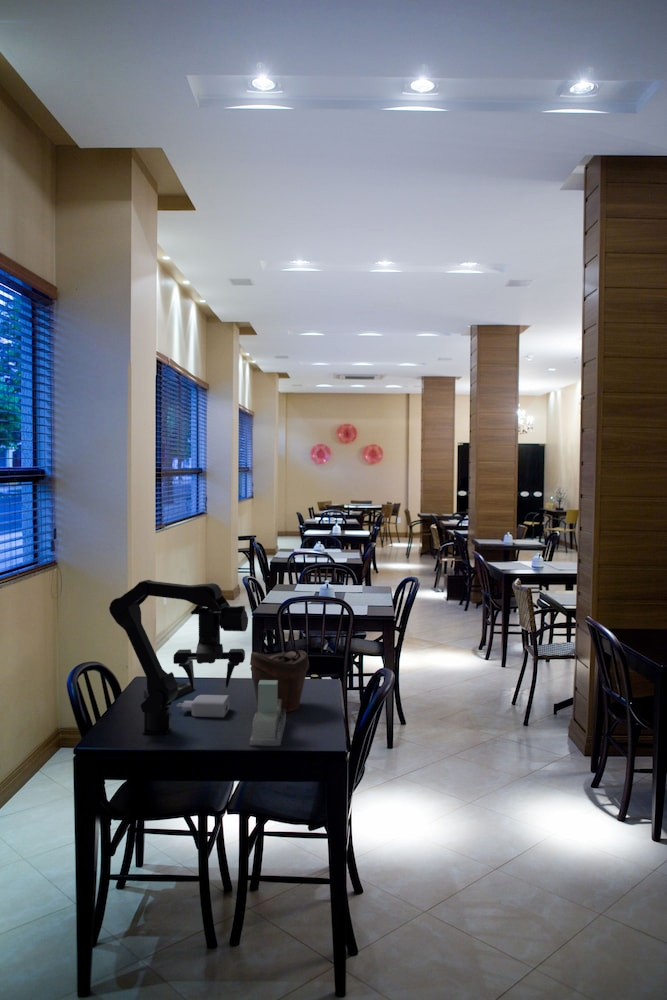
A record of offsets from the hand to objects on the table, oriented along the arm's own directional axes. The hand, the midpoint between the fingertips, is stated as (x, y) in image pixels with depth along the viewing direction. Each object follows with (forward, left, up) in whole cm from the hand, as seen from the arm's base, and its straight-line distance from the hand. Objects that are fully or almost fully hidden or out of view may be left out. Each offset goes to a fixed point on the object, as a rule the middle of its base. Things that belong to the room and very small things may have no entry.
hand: (210, 687), depth 206 cm
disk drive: (-20, +41, -14) cm, 48 cm away
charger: (-6, +21, -14) cm, 25 cm away
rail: (+16, +3, -13) cm, 21 cm away
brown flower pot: (+17, +28, -13) cm, 35 cm away
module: (+16, +3, -12) cm, 20 cm away
